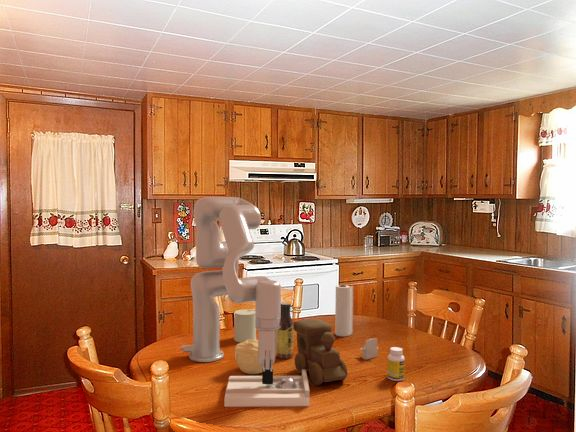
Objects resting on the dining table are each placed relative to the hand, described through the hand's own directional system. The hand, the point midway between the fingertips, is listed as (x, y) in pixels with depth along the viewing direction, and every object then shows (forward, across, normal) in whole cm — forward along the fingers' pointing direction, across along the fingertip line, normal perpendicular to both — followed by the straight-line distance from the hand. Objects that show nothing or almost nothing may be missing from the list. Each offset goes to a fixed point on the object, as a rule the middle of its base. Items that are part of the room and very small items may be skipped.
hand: (267, 383), depth 138 cm
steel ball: (+1, 0, +6) cm, 6 cm away
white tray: (+4, 0, 0) cm, 4 cm away
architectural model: (+4, -32, +37) cm, 49 cm away
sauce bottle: (+4, -33, +6) cm, 34 cm away
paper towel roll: (+4, -60, +32) cm, 68 cm away
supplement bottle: (+4, -12, +42) cm, 44 cm away
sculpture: (+4, -19, -5) cm, 20 cm away
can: (+4, -54, -10) cm, 55 cm away
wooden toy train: (+4, -14, +17) cm, 22 cm away
